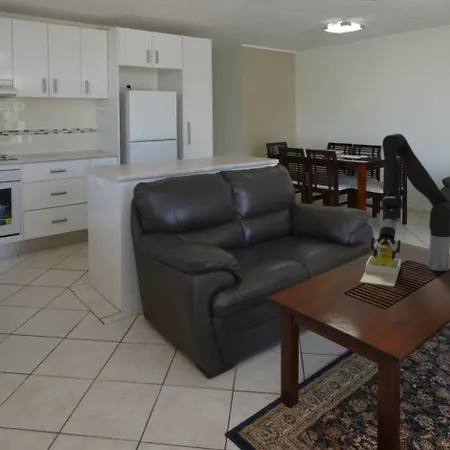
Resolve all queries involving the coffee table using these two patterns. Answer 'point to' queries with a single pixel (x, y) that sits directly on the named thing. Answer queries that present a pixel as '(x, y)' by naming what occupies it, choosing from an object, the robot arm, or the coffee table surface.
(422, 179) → the robot arm
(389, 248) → the supplement box
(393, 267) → the box
